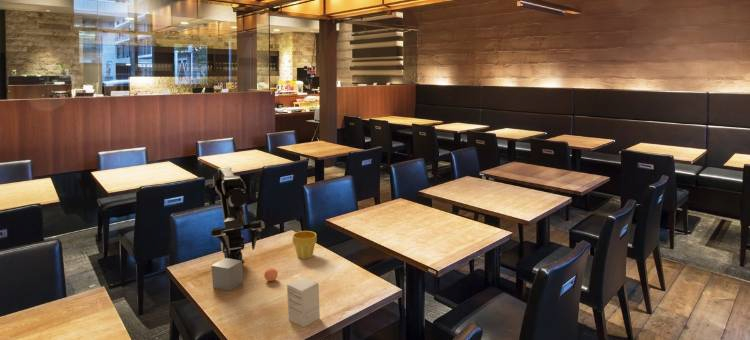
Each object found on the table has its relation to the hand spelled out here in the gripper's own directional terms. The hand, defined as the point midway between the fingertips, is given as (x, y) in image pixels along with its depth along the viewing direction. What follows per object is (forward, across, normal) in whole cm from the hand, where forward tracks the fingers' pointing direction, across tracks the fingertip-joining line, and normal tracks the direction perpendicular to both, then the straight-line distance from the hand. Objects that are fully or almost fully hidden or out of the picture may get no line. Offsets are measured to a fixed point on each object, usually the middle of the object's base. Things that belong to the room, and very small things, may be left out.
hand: (241, 251), depth 171 cm
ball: (+10, +8, +7) cm, 15 cm away
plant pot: (+6, +18, +31) cm, 36 cm away
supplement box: (+26, +23, -18) cm, 39 cm away
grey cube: (+11, -8, +4) cm, 14 cm away
